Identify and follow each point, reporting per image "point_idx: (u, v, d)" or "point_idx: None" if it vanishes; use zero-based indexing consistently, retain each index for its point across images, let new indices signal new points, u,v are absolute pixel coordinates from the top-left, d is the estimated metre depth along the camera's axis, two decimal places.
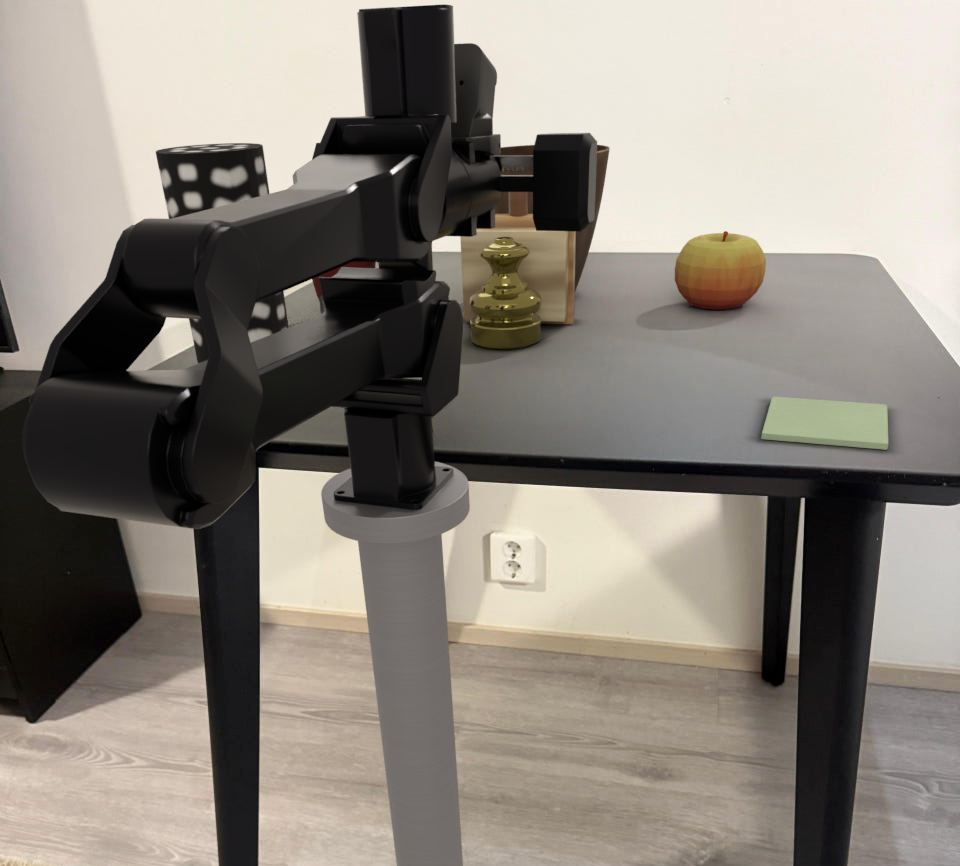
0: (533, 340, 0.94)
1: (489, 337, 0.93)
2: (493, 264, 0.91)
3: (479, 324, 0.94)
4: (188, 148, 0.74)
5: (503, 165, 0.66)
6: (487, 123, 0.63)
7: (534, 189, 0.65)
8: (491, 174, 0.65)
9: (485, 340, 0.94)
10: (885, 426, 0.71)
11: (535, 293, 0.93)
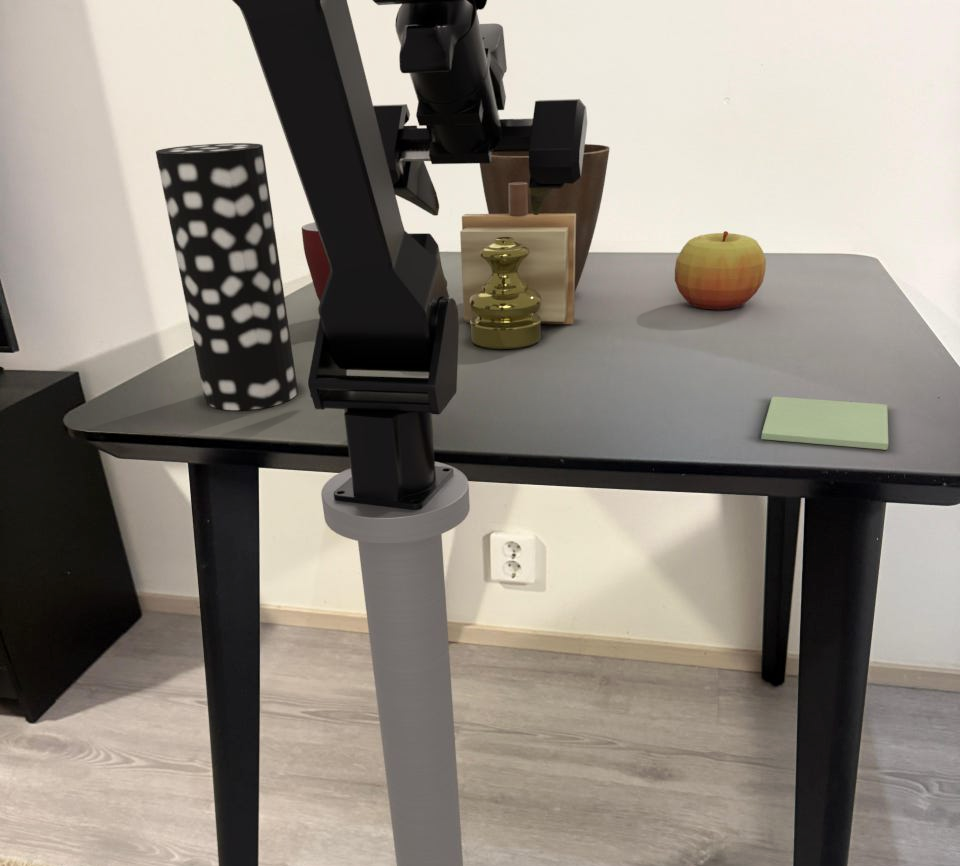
0: (533, 340, 0.94)
1: (489, 337, 0.93)
2: (493, 264, 0.91)
3: (479, 324, 0.94)
4: (188, 148, 0.74)
5: (503, 125, 0.74)
6: (499, 69, 0.72)
7: (533, 128, 0.72)
8: None
9: (485, 340, 0.94)
10: (885, 426, 0.71)
11: (535, 293, 0.93)
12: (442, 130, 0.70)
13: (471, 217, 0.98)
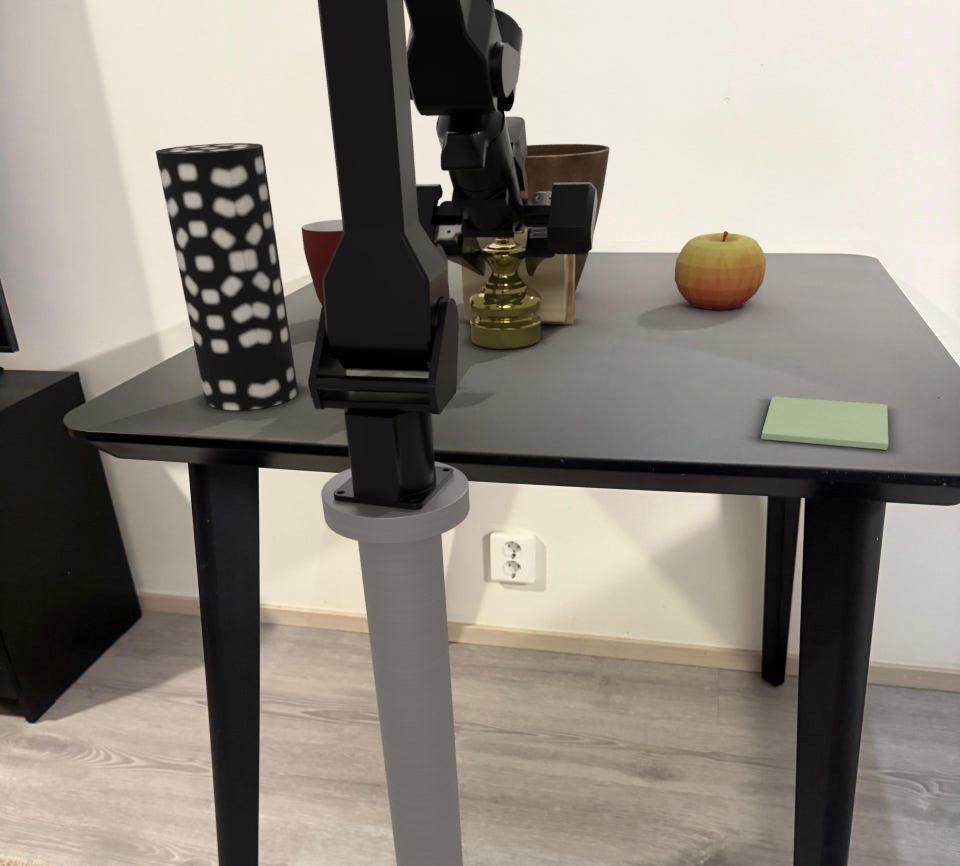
0: (533, 340, 0.94)
1: (489, 337, 0.93)
2: (493, 264, 0.91)
3: (479, 324, 0.94)
4: (188, 148, 0.74)
5: None
6: (522, 157, 0.83)
7: (550, 208, 0.83)
8: None
9: (485, 340, 0.94)
10: (885, 426, 0.71)
11: (535, 293, 0.93)
12: (473, 211, 0.81)
13: None
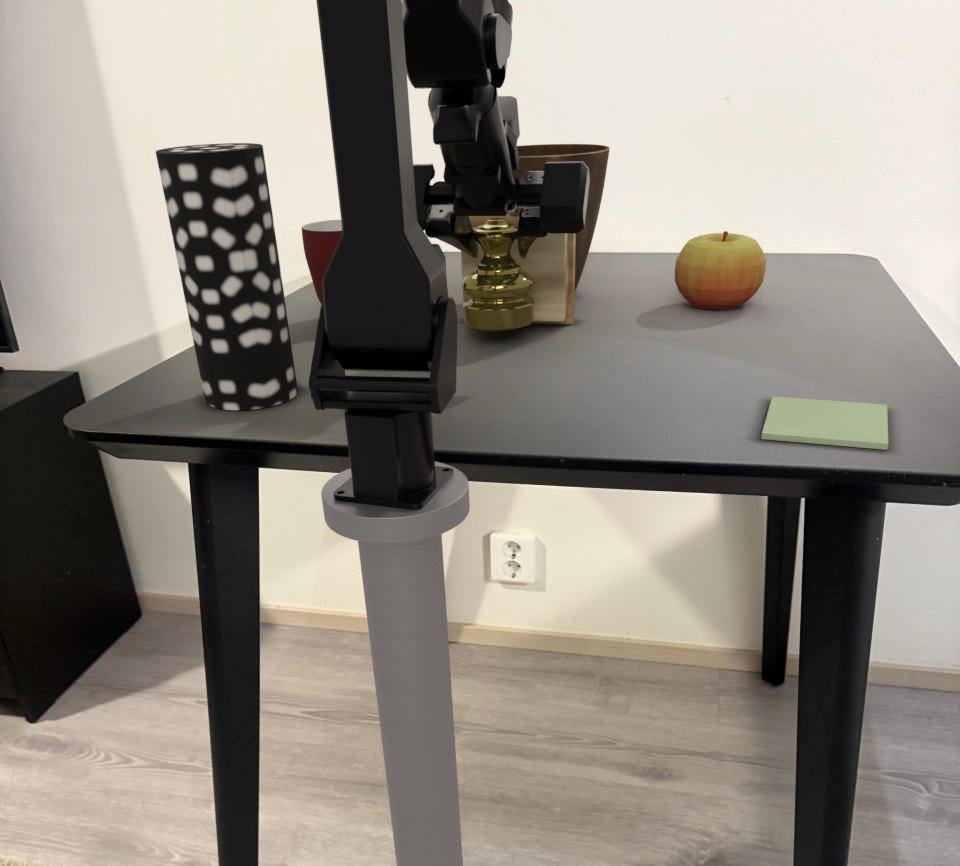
0: (526, 322, 0.94)
1: (481, 318, 0.93)
2: (484, 245, 0.91)
3: (471, 305, 0.93)
4: (188, 148, 0.74)
5: None
6: (514, 136, 0.83)
7: (543, 186, 0.83)
8: None
9: (477, 322, 0.93)
10: (885, 426, 0.71)
11: (528, 274, 0.93)
12: (465, 188, 0.81)
13: (471, 217, 0.98)
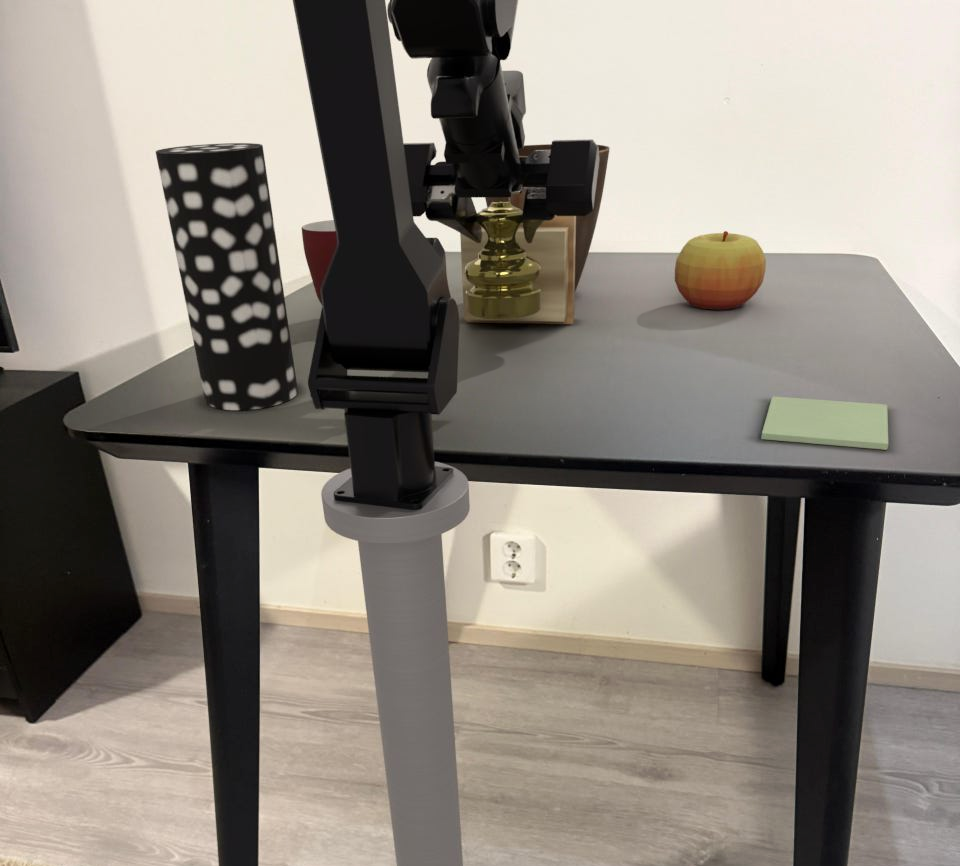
0: (531, 310, 0.89)
1: (484, 306, 0.88)
2: (488, 229, 0.87)
3: (474, 293, 0.89)
4: (188, 148, 0.74)
5: None
6: (519, 112, 0.79)
7: (549, 166, 0.79)
8: None
9: (480, 310, 0.89)
10: (885, 426, 0.71)
11: (534, 260, 0.88)
12: (467, 167, 0.77)
13: None
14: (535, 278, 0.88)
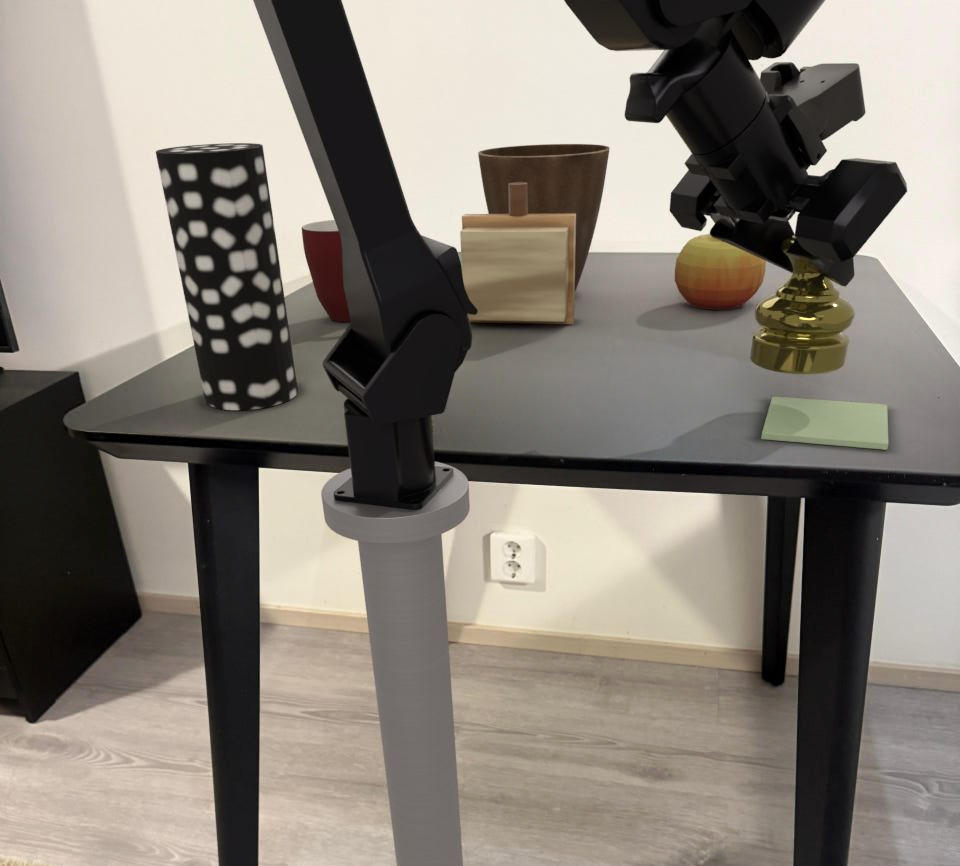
0: (807, 368, 0.71)
1: (754, 350, 0.73)
2: (789, 259, 0.70)
3: (757, 332, 0.74)
4: (188, 148, 0.74)
5: None
6: (819, 119, 0.61)
7: (817, 191, 0.60)
8: (791, 162, 0.62)
9: (752, 353, 0.73)
10: (885, 426, 0.71)
11: (834, 308, 0.69)
12: (711, 181, 0.64)
13: (471, 217, 0.98)
14: (823, 330, 0.69)
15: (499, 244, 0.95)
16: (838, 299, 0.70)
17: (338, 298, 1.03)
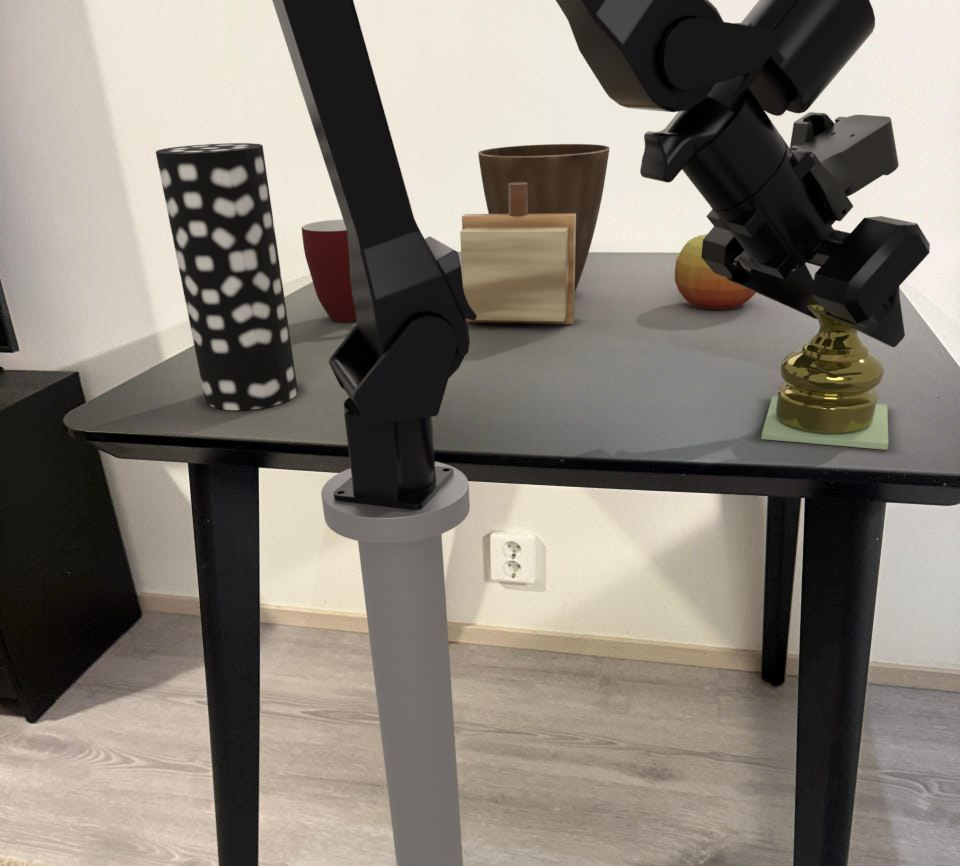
0: (829, 428, 0.69)
1: (779, 405, 0.72)
2: None
3: (784, 386, 0.72)
4: (188, 148, 0.74)
5: (835, 238, 0.62)
6: (844, 174, 0.60)
7: (837, 249, 0.59)
8: (814, 218, 0.60)
9: (777, 408, 0.72)
10: (885, 426, 0.71)
11: (859, 369, 0.67)
12: (733, 235, 0.63)
13: (471, 217, 0.98)
14: (846, 391, 0.67)
15: (499, 244, 0.95)
16: (865, 358, 0.68)
17: (338, 298, 1.03)
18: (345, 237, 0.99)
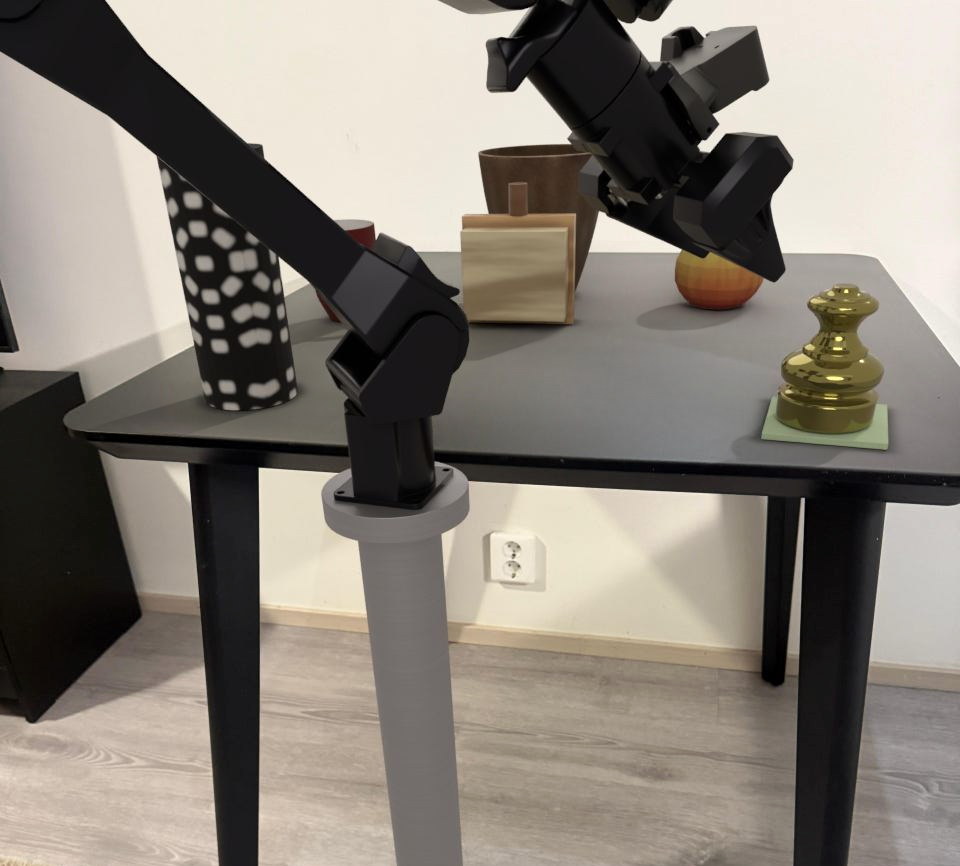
0: (829, 428, 0.69)
1: (779, 405, 0.72)
2: None
3: (784, 386, 0.72)
4: None
5: (703, 160, 0.57)
6: (707, 88, 0.55)
7: (697, 168, 0.54)
8: (676, 136, 0.56)
9: (777, 408, 0.72)
10: (885, 426, 0.71)
11: (859, 369, 0.67)
12: (594, 158, 0.58)
13: (471, 217, 0.98)
14: (846, 391, 0.67)
15: (499, 244, 0.95)
16: (865, 358, 0.68)
17: None
18: None
